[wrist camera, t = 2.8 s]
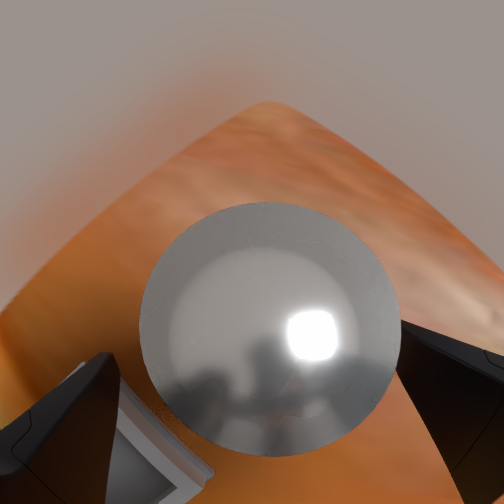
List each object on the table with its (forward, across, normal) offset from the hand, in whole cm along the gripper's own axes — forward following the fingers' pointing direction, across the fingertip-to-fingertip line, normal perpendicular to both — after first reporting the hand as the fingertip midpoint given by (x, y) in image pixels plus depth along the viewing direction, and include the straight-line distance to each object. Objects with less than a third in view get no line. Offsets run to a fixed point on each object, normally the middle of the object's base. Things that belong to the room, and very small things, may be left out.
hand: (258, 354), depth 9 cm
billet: (+6, 0, +6) cm, 8 cm away
